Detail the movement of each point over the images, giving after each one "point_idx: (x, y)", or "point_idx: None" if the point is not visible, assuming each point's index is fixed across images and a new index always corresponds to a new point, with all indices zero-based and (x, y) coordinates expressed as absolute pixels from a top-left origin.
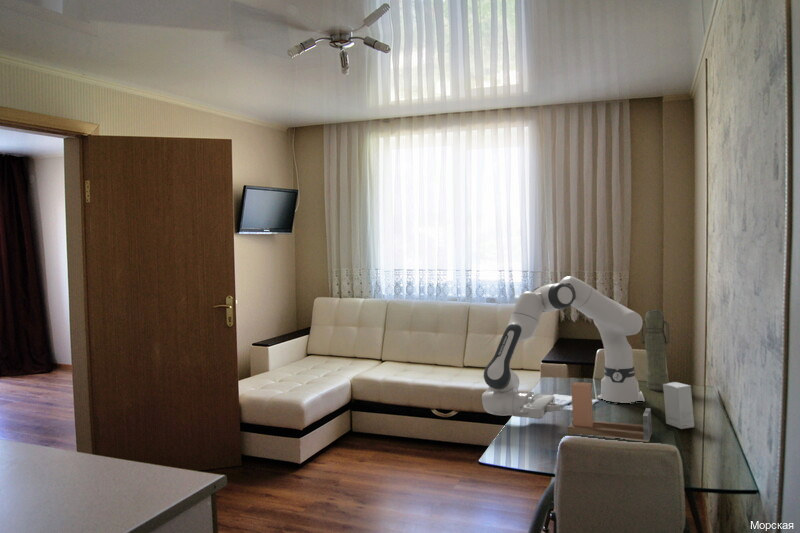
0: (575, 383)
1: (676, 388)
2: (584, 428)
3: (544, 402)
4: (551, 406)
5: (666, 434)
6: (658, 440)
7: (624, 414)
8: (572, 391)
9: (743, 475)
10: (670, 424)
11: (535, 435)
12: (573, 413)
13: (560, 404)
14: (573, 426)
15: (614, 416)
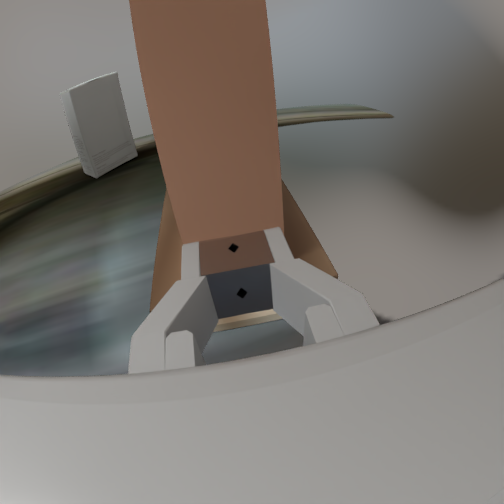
0: None
1: (114, 74)
2: (303, 217)
3: (340, 389)
4: (342, 284)
5: None
6: None
7: (14, 251)
8: (266, 25)
9: (326, 105)
10: (110, 169)
11: None
12: (280, 194)
13: (190, 247)
14: (309, 255)
15: (25, 262)
